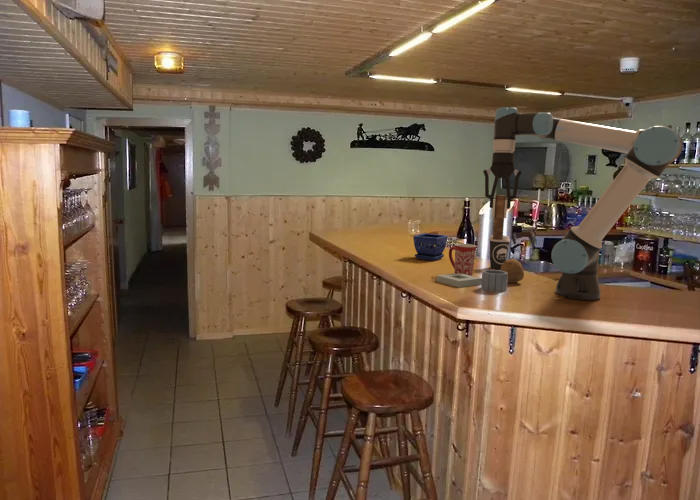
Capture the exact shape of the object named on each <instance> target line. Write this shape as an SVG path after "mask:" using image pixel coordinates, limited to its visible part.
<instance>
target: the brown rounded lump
mask: <svg viewBox="0 0 700 500" xmlns="http://www.w3.org/2000/svg"><path fill="white" fill-rule="evenodd" d="M500 271H505V272H507V273H508V281H507V284H508V283H509V284H516V283H518V282H521V281H522V280H523V279H524V277H525V271H524V267H523V265H522V263H521V262H520V261H519V260H518V259H515V258H509V259H508V258H507V259H506V261H505V262H504V263H503V264H502V266H501V270H500Z"/></svg>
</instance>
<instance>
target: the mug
mask: <svg viewBox="0 0 700 500" xmlns="http://www.w3.org/2000/svg"><path fill="white" fill-rule="evenodd" d="M477 247H478V246H477V245H474V244H473V243H472V244H471V243H455V244H454V246H452V247H450V248H449V250H448V259H449V261H450V264H451V265H452V268H453V269H454V274H455V273H461V274H466V275H470V276H473V275H474V266H475V258H476V250H477ZM453 250H454V258H453Z"/></svg>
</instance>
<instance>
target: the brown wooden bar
mask: <svg viewBox="0 0 700 500" xmlns="http://www.w3.org/2000/svg"><path fill="white" fill-rule="evenodd" d="M506 198H507V195H504V194H503V195H502V194H498V195H497V194H495V197H494V199H495V214H494V218H493V229H492V235H493V239H495V240H503V236H504V224H505V222H504V221H505V218H504V210H505V200H506Z"/></svg>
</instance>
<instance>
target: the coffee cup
mask: <svg viewBox="0 0 700 500" xmlns="http://www.w3.org/2000/svg"><path fill="white" fill-rule="evenodd" d="M488 241H489V263H490V264H489V265H490V267H489V268H490V270H500V271H501V266H502V264H503V263H504V262H505V261H506V260H508V251H509V246H510V242H511V239H510V237H509V235H503V240H495V239H493V234H491V235H490V237H489V238H488Z"/></svg>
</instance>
